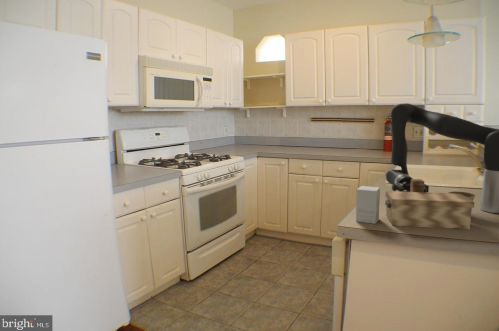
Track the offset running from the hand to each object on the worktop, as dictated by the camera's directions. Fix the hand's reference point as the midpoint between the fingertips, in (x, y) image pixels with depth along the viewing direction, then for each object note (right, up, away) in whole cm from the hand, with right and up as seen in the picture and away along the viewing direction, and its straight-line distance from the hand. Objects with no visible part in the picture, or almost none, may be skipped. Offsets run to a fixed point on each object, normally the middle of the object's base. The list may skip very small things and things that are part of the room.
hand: (413, 191), depth 149 cm
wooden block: (-1, -9, -3) cm, 10 cm away
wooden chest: (-1, -10, -10) cm, 14 cm away
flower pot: (+16, -10, -5) cm, 19 cm away
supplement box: (-23, -11, -10) cm, 27 cm away
